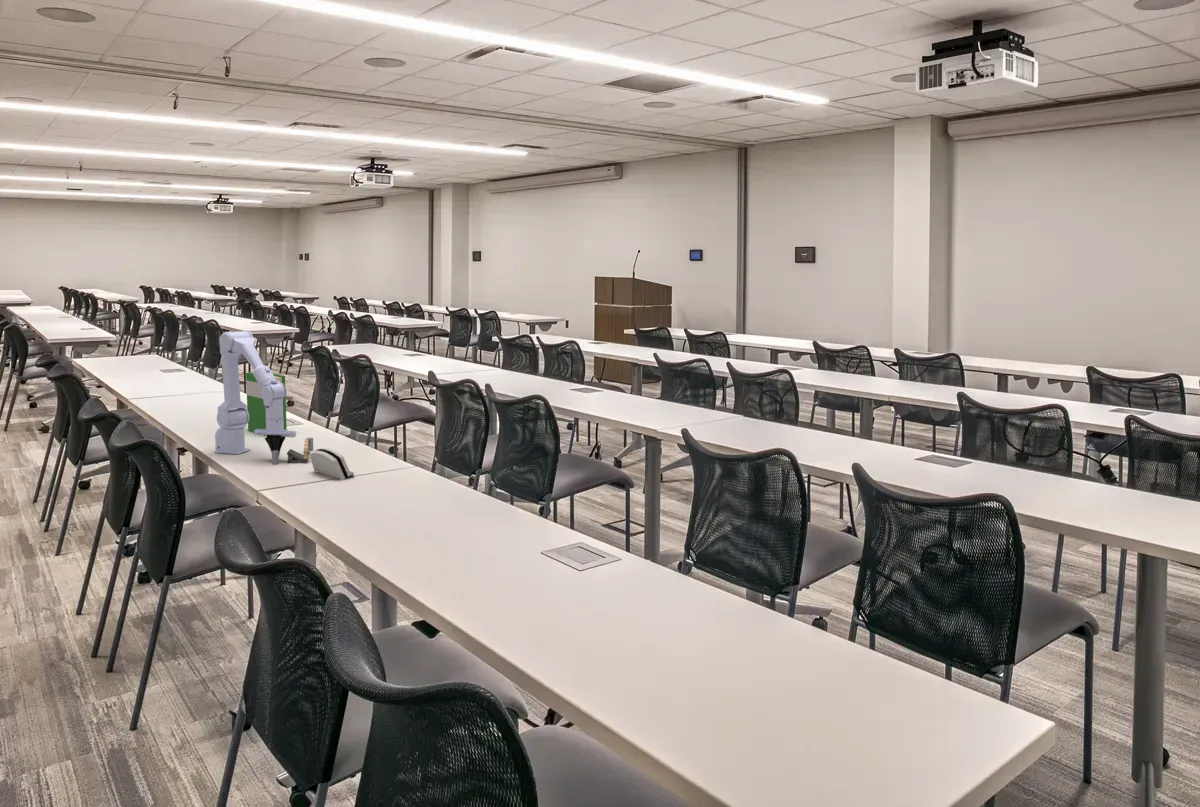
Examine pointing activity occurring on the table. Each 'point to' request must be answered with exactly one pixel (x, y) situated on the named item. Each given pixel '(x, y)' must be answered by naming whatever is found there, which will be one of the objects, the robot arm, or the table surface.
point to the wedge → (295, 457)
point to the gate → (306, 449)
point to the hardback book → (259, 403)
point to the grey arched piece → (330, 463)
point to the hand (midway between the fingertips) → (275, 456)
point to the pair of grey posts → (276, 454)
